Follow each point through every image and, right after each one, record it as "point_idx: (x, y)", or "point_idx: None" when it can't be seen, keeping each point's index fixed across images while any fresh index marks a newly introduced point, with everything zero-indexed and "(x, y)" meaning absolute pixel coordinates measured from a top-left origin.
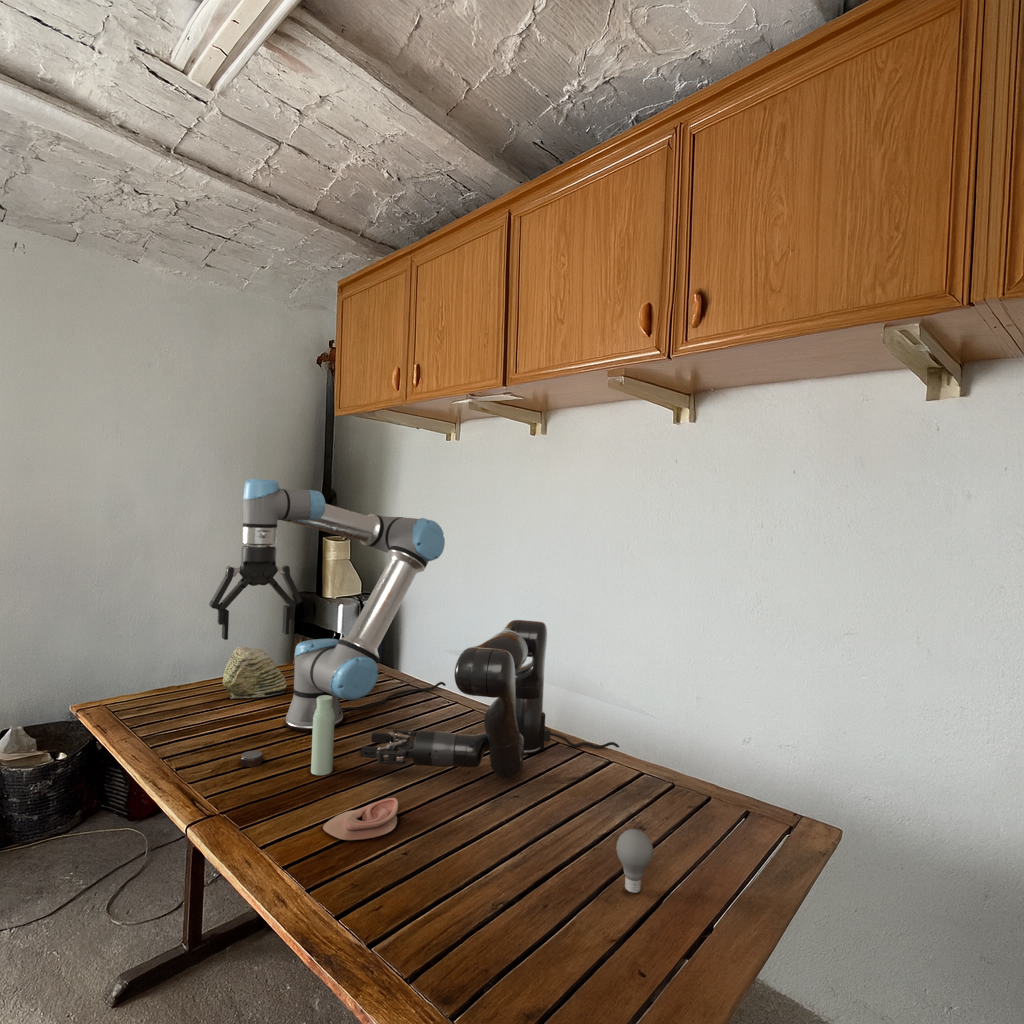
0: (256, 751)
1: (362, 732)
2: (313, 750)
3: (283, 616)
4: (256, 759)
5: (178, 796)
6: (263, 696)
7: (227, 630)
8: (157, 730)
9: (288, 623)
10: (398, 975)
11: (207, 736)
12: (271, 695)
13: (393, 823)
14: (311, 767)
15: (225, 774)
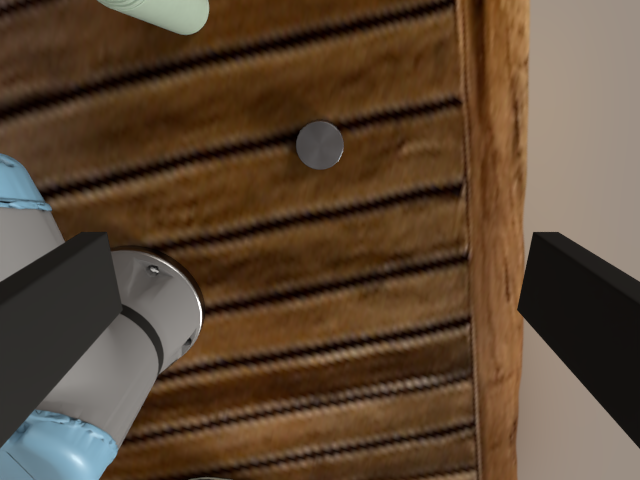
0: (306, 158)
1: None
2: None
3: (40, 383)
4: (314, 121)
5: (498, 41)
6: (215, 478)
7: (581, 259)
8: (437, 396)
9: (29, 268)
10: None
11: (364, 328)
12: (199, 478)
13: None
14: (205, 5)
15: (383, 109)
